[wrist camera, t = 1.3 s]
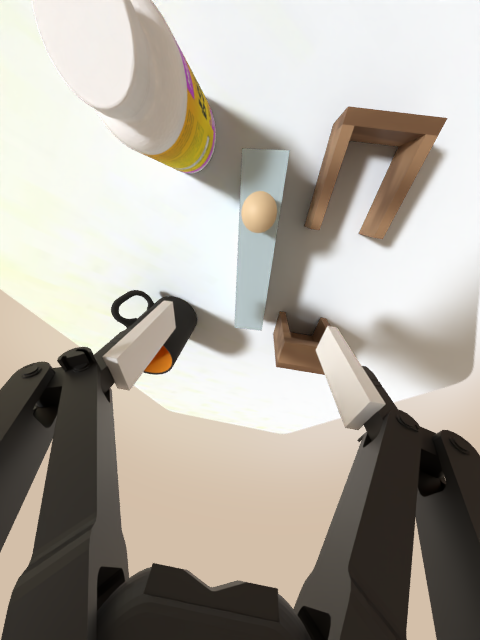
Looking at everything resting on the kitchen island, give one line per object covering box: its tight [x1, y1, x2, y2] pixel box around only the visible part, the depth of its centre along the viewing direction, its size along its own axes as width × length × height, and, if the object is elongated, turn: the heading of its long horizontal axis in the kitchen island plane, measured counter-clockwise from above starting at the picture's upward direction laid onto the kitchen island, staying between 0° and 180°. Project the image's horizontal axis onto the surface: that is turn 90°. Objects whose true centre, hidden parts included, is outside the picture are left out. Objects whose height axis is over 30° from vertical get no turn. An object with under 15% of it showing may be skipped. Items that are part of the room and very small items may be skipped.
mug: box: [111, 290, 197, 374], centre depth 27 cm, size 8×12×10 cm
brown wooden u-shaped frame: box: [304, 107, 447, 239], centre depth 18 cm, size 9×8×4 cm
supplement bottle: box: [32, 0, 216, 173], centre depth 13 cm, size 7×7×13 cm
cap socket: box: [273, 312, 330, 375], centre depth 27 cm, size 5×8×8 cm, turn 83°
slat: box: [235, 148, 290, 331], centre depth 21 cm, size 19×4×9 cm, turn 177°
